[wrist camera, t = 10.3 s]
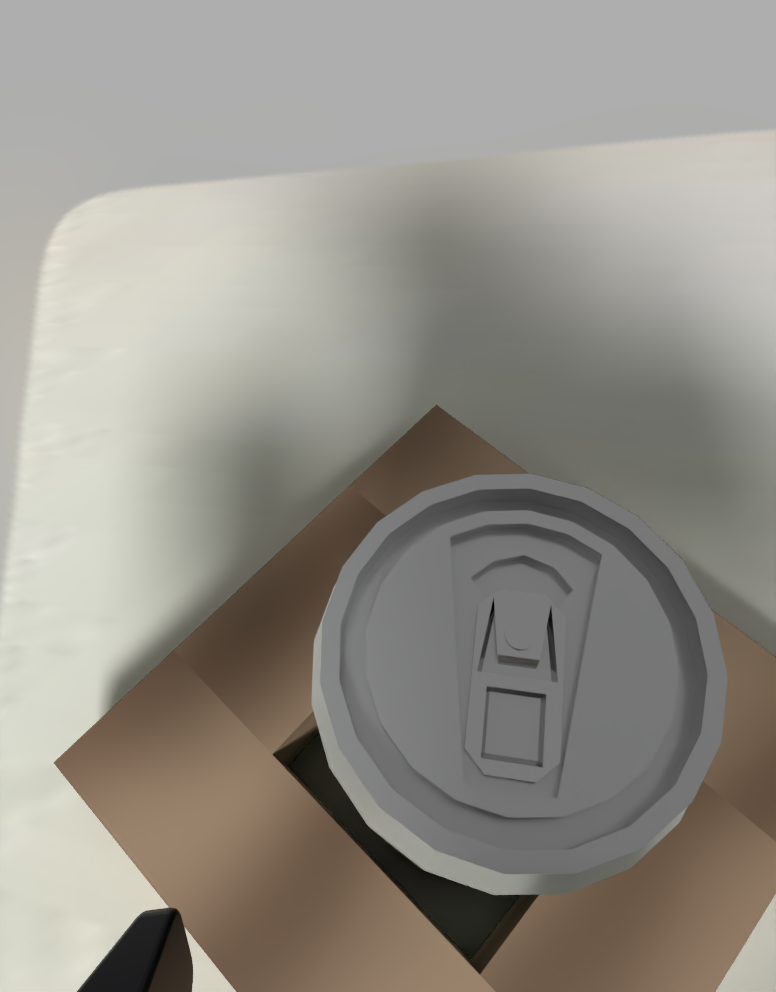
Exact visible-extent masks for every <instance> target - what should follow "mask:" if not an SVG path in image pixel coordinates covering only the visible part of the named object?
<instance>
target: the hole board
mask: <svg viewBox="0 0 776 992" xmlns="http://www.w3.org/2000/svg"><path fill="white" fill-rule="evenodd" d="M493 474H529V473H527V472H526V471H525V470H523V469H522V468H521V467H519V466H518V465H517V464H515V463H514V462H513V461H511V460H510V459H508V458H507V457H506V456H504V455H503V454H502V453H500V452H499V451H498V450H496V449H495V448H494V447H492V446H491V445H490V444H488V443H487V442H486V441H484V440H483V439H482V438H480V437H479V436H478V435H476V434H475V433H473V432H472V431H471V430H469V429H468V428H467V427H465V426H464V425H463V424H461V423H460V422H459V421H457V420H456V419H455V418H453V417H452V416H451V415H449V414H448V413H447V412H445V411H444V410H443V409H441V408H440V407H438V406H437V405H436V406H435V407H434V408H432V409H431V410H430V411H429V412H428V413H427V414H426V415H425V416H424V417H423V418H422V419H421V420H420V421H419V422H417V423H416V424H415V425H414V426H413V427H412V428H411V429H410V430H409V431H408V432H407V433H406V434H405V435H404V436H403V437H401V438H400V439H399V440H398V441H397V442H396V443H395V444H394V445H393V446H392V447H391V448H390V449H389V450H388V451H386V452H385V453H384V454H383V455H382V456H381V457H380V458H379V459H378V460H377V461H376V462H375V463H374V464H373V465H371V466H370V467H369V468H368V469H367V470H366V471H365V472H364V473H363V474H362V475H361V476H360V477H359V478H358V479H357V480H355V481H354V482H353V483H352V484H351V485H350V486H349V487H348V488H347V489H346V490H345V491H344V492H343V493H342V494H340V495H339V496H338V497H337V498H336V499H335V500H334V501H333V502H332V503H331V504H330V505H329V506H328V507H327V508H326V509H324V510H323V511H322V512H321V513H320V514H319V515H318V516H317V517H316V518H315V519H314V520H313V521H312V522H311V523H309V524H308V525H307V526H306V527H305V528H304V529H303V530H302V531H301V532H300V533H299V534H298V535H297V536H296V537H295V538H293V539H292V540H291V541H290V542H289V543H288V544H287V545H286V546H285V547H284V548H283V549H282V550H281V551H280V552H278V553H277V554H276V555H275V556H274V557H273V558H272V559H271V560H270V561H269V562H268V563H267V564H266V565H265V566H263V567H262V568H261V569H260V570H259V571H258V572H257V573H256V574H255V575H254V576H253V577H252V578H251V579H250V580H249V581H247V582H246V583H245V584H244V585H243V586H242V587H241V588H240V589H239V590H238V591H237V592H236V593H235V594H234V595H232V596H231V597H230V598H229V599H228V600H227V601H226V602H225V603H224V604H223V605H222V606H221V607H220V608H219V609H218V610H216V611H215V612H214V613H213V614H212V615H211V616H210V617H209V618H208V619H207V620H206V621H205V622H204V623H203V624H201V625H200V626H199V627H198V628H197V629H196V630H195V631H194V632H193V633H192V634H191V635H190V636H189V637H188V638H186V639H185V640H184V641H183V642H182V643H181V644H180V645H179V646H178V647H177V648H176V649H175V650H174V651H173V652H172V653H170V654H169V655H168V656H167V657H166V658H165V659H164V660H163V661H162V662H161V663H160V664H159V665H158V666H157V667H155V668H154V669H153V670H152V671H151V672H150V673H149V674H148V675H147V676H146V677H145V678H144V679H143V680H142V681H141V682H139V683H138V684H137V685H136V686H135V687H134V688H133V689H132V690H131V691H130V692H129V693H128V694H127V695H126V696H124V697H123V698H122V699H121V700H120V701H119V702H118V703H117V704H116V705H115V706H114V707H113V708H112V709H111V710H109V711H108V712H107V713H106V714H105V715H104V716H103V717H102V718H101V719H100V720H99V721H98V722H97V723H96V724H95V725H93V726H92V727H91V728H90V729H89V730H88V731H87V732H86V733H85V734H84V735H83V736H82V737H81V738H80V739H78V740H77V741H76V742H75V743H74V744H73V745H72V746H71V747H70V748H69V749H68V750H67V751H66V752H65V753H64V754H62V755H61V756H60V757H59V758H58V759H57V760H56V761H55V762H54V764H55V765H56V766H57V768H58V769H59V770H60V771H61V773H62V774H63V775H64V776H65V778H66V779H67V780H68V781H69V783H70V784H71V785H72V786H73V788H74V789H75V790H76V791H77V793H78V794H79V795H80V796H81V798H82V799H83V800H84V801H85V803H86V804H87V805H88V806H89V808H90V809H91V810H92V811H93V813H94V814H95V815H96V816H97V818H98V819H99V820H100V821H101V823H102V824H103V825H104V826H105V828H106V829H107V830H108V831H109V833H110V834H111V835H112V836H113V838H114V839H115V840H116V841H117V843H118V844H119V845H120V846H121V848H122V849H123V850H124V851H125V853H126V854H127V855H128V856H129V858H130V859H131V860H132V861H133V863H134V864H135V865H136V866H137V868H138V869H139V870H140V872H141V873H142V874H143V875H144V877H145V878H146V879H147V880H148V882H149V883H150V884H151V885H152V887H153V888H154V889H155V890H156V892H157V893H158V894H159V895H160V897H161V898H162V899H163V900H164V902H165V903H166V904H167V905H168V907H169V908H176V909H178V911H179V912H180V914H181V917H182V920H183V924H184V927H185V928H186V929H187V930H188V932H189V933H190V934H191V935H192V937H193V938H194V939H195V940H196V942H197V943H198V944H199V945H200V947H201V948H202V949H203V950H204V952H205V953H206V954H207V955H208V957H209V958H210V959H211V960H212V962H213V963H214V964H215V965H216V967H217V968H218V969H219V970H220V972H221V973H222V974H223V975H224V977H225V978H226V979H227V980H228V982H229V983H230V984H231V985H232V987H233V988H234V989H235V990H236V992H715V991H716V990H717V988H718V986H719V985H720V983H721V982H722V980H723V978H724V977H725V975H726V973H727V972H728V970H729V969H730V967H731V965H732V964H733V962H734V960H735V959H736V957H737V956H738V954H739V952H740V951H741V949H742V947H743V946H744V944H745V943H746V941H747V939H748V938H749V936H750V934H751V933H752V931H753V929H754V928H755V926H756V925H757V923H758V921H759V920H760V918H761V916H762V915H763V913H764V912H765V910H766V908H767V907H768V905H769V903H770V902H771V900H772V899H773V897H774V895H775V894H776V657H775V656H774V655H772V654H771V653H770V652H768V651H767V650H766V649H764V648H763V647H761V646H760V645H759V644H757V643H756V642H755V641H753V640H752V639H751V638H749V637H748V636H747V635H745V634H744V633H743V632H741V631H740V630H739V629H737V628H736V627H735V626H733V625H732V624H731V623H729V622H728V621H726V620H725V619H724V618H722V617H721V616H720V615H718V614H717V613H716V612H714V611H713V610H712V609H711V610H712V612H713V614H714V617H715V622H716V626H717V631H718V635H719V640H720V644H721V648H722V653H723V657H724V662H725V666H726V671H727V675H728V682H727V692H726V702H725V712H724V722H723V732H722V742H721V744H720V746H719V748H718V750H717V752H716V754H715V756H714V758H713V760H712V763H711V765H710V767H709V769H708V771H707V773H706V775H705V777H704V779H703V781H702V783H701V785H700V787H699V789H698V792H697V794H696V796H695V798H694V800H693V802H692V803H691V804H689V805H688V806H687V809H686V811H685V813H684V815H683V817H682V819H681V821H680V823H678V824H677V825H676V826H675V827H674V828H673V829H672V830H671V831H670V832H669V833H668V834H667V835H666V836H665V837H664V838H662V839H661V840H660V841H659V842H658V843H657V844H656V845H655V846H654V847H653V848H652V849H651V850H650V851H649V852H647V853H646V854H645V855H644V856H643V857H642V858H641V859H640V860H639V861H638V862H637V863H636V864H635V865H634V866H633V867H631V868H630V869H628V870H625V871H623V872H620V873H618V874H615V875H613V876H610V877H608V878H605V879H603V880H600V881H598V882H595V883H593V884H590V885H588V886H585V887H582V888H580V889H577V890H575V891H572V892H570V893H567V894H542V895H519V897H518V898H517V899H516V901H515V902H514V903H513V905H512V906H511V907H510V909H509V910H508V911H507V913H506V914H505V915H504V917H503V918H502V919H501V921H500V922H499V923H498V925H497V926H496V927H495V929H494V930H493V931H492V933H491V934H490V935H489V937H488V938H487V939H486V941H485V942H484V943H483V945H482V946H481V947H480V949H479V950H478V951H477V953H476V954H475V955H474V957H473V958H472V959H471V960H470V959H469V958H468V957H467V956H466V955H465V953H464V952H463V951H462V950H461V949H460V948H459V947H458V946H457V945H456V944H455V943H454V942H453V941H452V940H451V939H450V938H449V937H448V935H447V934H446V933H445V932H444V931H443V930H442V929H441V928H440V927H439V926H438V925H437V924H436V923H435V922H434V921H433V920H432V919H431V917H430V916H429V915H428V914H427V913H426V912H425V911H424V910H423V909H422V908H421V907H420V906H419V905H418V904H417V903H416V902H415V901H414V899H413V898H412V897H411V896H410V895H409V894H408V893H407V892H406V891H405V890H404V889H403V888H402V887H401V886H400V885H399V884H398V883H397V881H396V880H395V879H394V878H393V877H392V876H391V875H390V874H389V873H388V872H387V871H386V870H385V869H384V868H383V867H382V866H381V865H380V863H379V862H378V861H377V860H376V859H375V858H374V857H373V856H372V855H371V854H370V853H369V852H368V851H367V850H366V849H365V848H364V847H363V845H362V844H361V843H360V842H359V841H358V840H357V839H356V838H355V837H354V836H353V835H352V834H351V833H350V832H349V831H348V830H347V829H346V827H345V826H344V825H343V824H342V823H341V822H340V821H339V820H338V819H337V818H336V817H335V816H334V815H333V814H332V813H331V812H330V811H329V809H328V808H327V807H326V806H325V805H324V804H323V803H322V802H321V801H320V800H319V799H318V798H317V797H316V796H315V795H314V794H313V793H312V792H311V790H310V789H309V788H308V787H307V786H306V785H305V784H304V783H303V782H302V781H301V780H300V779H299V778H298V777H297V776H296V775H295V774H294V772H293V771H292V770H291V769H290V768H289V767H288V766H289V765H290V764H291V762H292V761H293V760H294V759H295V758H296V757H297V756H298V755H299V754H300V753H301V752H302V751H303V750H304V749H305V747H306V746H307V745H308V744H309V743H310V742H311V741H312V740H313V739H314V738H315V737H316V736H317V735H318V734H319V729H318V726H317V722H316V718H315V715H314V711H313V708H312V704H311V701H312V675H313V649H314V639H315V637H316V634H317V631H318V628H319V626H320V623H321V620H322V618H323V615H324V612H325V609H326V607H327V604H328V601H329V598H330V596H331V593H332V590H333V587H334V585H335V584H336V582H337V580H338V577H339V574H340V571H341V569H342V566H343V565H344V564H345V563H346V561H347V560H348V559H349V557H350V556H351V555H352V554H353V552H354V551H355V550H356V548H357V547H358V546H359V545H360V543H361V542H362V541H363V540H364V538H365V537H366V536H367V534H368V533H369V532H370V531H371V529H372V528H373V527H374V526H375V524H376V523H377V522H378V521H380V520H381V519H383V518H384V517H386V516H387V515H389V514H390V513H392V512H393V511H394V510H396V509H397V508H399V507H400V506H402V505H403V504H405V503H406V502H408V501H409V500H411V499H412V498H414V497H415V496H416V495H418V494H419V493H421V492H422V491H425V490H429V489H432V488H435V487H438V486H441V485H444V484H448V483H451V482H454V481H457V480H460V479H464V478H467V477H470V476H473V475H493Z"/></svg>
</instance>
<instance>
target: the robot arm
mask: <svg viewBox="0 0 776 992" xmlns="http://www.w3.org/2000/svg"><path fill="white" fill-rule="evenodd" d="M192 983H193V964H192V957H191V953H190V949H189V945H188V941H187V937H186V933H185V928H184V924H183V920H182V917H181V914H180V912H179V911H178V909H176V908H164V909H156V910H149V911H145V912H143V913H141V914H140V915H139V916H138V917H137V918H136V919H135V920H134V922H133V923H132V924H131V925H130V927H129V928H128V929H127V930H126V931H125V933H124V934H123V935H122V936H121V938H120V939H119V940H118V941H117V943H116V944H115V945H114V946H113V948H112V949H111V950H110V951H109V953H108V954H107V955H106V956H105V958H104V959H103V960H102V961H101V962H100V964H99V965H98V966H97V967H96V969H95V970H94V971H93V972H92V974H91V975H90V976H89V977H88V979H87V980H86V981H85V982H84V984H83V985H82V986H81V987H80V988H79V990H78V991H77V992H192Z"/></svg>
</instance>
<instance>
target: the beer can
mask: <svg viewBox="0 0 776 992" xmlns="http://www.w3.org/2000/svg"><path fill="white" fill-rule="evenodd" d="M727 682H728V675H727V671H726V666H725V662H724V657H723V653H722V648H721V644H720V640H719V635H718V631H717V626H716V622H715V617H714V614H713V612H712V610H711V609H710V607H709V605H708V603H707V602H706V600H705V598H704V596H703V595H702V593H701V591H700V589H699V588H698V586H697V584H696V582H695V581H694V579H693V577H692V575H691V574H690V572H689V570H688V568H687V566H686V565H685V563H684V561H683V560H682V559H681V558H680V557H679V556H678V555H677V554H676V553H675V552H674V551H673V550H672V549H671V548H670V547H669V546H668V545H667V544H666V543H665V542H664V541H663V540H662V539H661V538H660V537H659V536H658V535H657V534H656V533H655V532H654V531H653V530H652V529H651V528H650V527H649V526H648V525H647V524H646V523H645V522H644V521H643V520H642V519H641V518H640V517H638V516H637V515H635V514H633V513H631V512H629V511H628V510H626V509H624V508H622V507H621V506H619V505H617V504H615V503H613V502H612V501H610V500H608V499H606V498H604V497H603V496H601V495H599V494H597V493H596V492H594V491H592V490H590V489H588V488H586V487H582V486H578V485H574V484H570V483H566V482H562V481H558V480H554V479H550V478H547V477H543V476H539V475H535V474H493V475H473V476H470V477H467V478H464V479H460V480H457V481H454V482H451V483H448V484H444V485H441V486H438V487H435V488H432V489H429V490H425V491H422V492H421V493H419V494H418V495H416V496H415V497H414V498H412V499H411V500H409V501H408V502H406V503H405V504H403V505H402V506H400V507H399V508H397V509H396V510H394V511H393V512H392V513H390V514H389V515H387V516H386V517H384V518H383V519H381V520H380V521H378V522H377V523H376V524H375V526H374V527H373V528H372V529H371V531H370V532H369V533H368V534H367V536H366V537H365V538H364V540H363V541H362V542H361V543H360V545H359V546H358V547H357V548H356V550H355V551H354V552H353V554H352V555H351V556H350V557H349V559H348V560H347V561H346V563H345V564H344V565H343V566H342V569H341V571H340V574H339V577H338V580H337V582H336V584H335V585H334V587H333V590H332V593H331V596H330V598H329V601H328V604H327V607H326V609H325V612H324V615H323V618H322V620H321V623H320V626H319V628H318V631H317V634H316V637H315V639H314V649H313V675H312V701H311V704H312V708H313V711H314V715H315V718H316V722H317V726H318V729H319V733H320V736H321V740H322V743H323V747H324V750H325V754H326V758H327V761H328V765H329V768H330V769H331V771H332V772H333V774H334V775H335V777H336V778H337V780H338V782H339V783H340V785H341V786H342V788H343V789H344V791H345V792H346V794H347V795H348V797H349V798H350V800H351V801H352V803H353V804H354V806H355V807H356V809H357V810H358V812H359V813H360V815H361V816H362V818H363V819H364V821H365V822H366V824H367V825H368V826H369V827H370V828H371V829H372V830H373V831H374V832H375V833H377V834H378V835H379V836H380V837H381V838H382V839H384V840H385V841H386V842H387V843H388V844H389V845H391V846H392V847H393V848H394V849H396V850H397V851H398V852H399V853H401V854H402V855H403V856H404V857H406V858H407V859H408V860H410V861H411V862H412V863H413V864H415V865H416V866H417V867H419V868H421V869H422V870H424V871H427V872H430V873H432V874H435V875H438V876H441V877H444V878H447V879H449V880H452V881H455V882H458V883H461V884H464V885H467V886H469V887H472V888H475V889H478V890H481V891H484V892H486V893H489V894H492V895H542V894H567V893H570V892H572V891H575V890H577V889H580V888H582V887H585V886H588V885H590V884H593V883H595V882H598V881H600V880H603V879H605V878H608V877H610V876H613V875H615V874H618V873H620V872H623V871H625V870H628V869H630V868H631V867H633V866H634V865H635V864H636V863H637V862H638V861H639V860H640V859H641V858H642V857H643V856H644V855H645V854H646V853H647V852H649V851H650V850H651V849H652V848H653V847H654V846H655V845H656V844H657V843H658V842H659V841H660V840H661V839H662V838H664V837H665V836H666V835H667V834H668V833H669V832H670V831H671V830H672V829H673V828H674V827H675V826H676V825H677V824H678V823H680V821H681V819H682V817H683V815H684V813H685V811H686V809H687V806H688V805H689V804H691V803H692V802H693V800H694V798H695V796H696V794H697V792H698V789H699V787H700V785H701V783H702V781H703V779H704V777H705V775H706V773H707V771H708V769H709V767H710V765H711V763H712V760H713V758H714V756H715V754H716V752H717V750H718V748H719V746H720V744H721V742H722V732H723V722H724V712H725V702H726V692H727Z"/></svg>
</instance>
